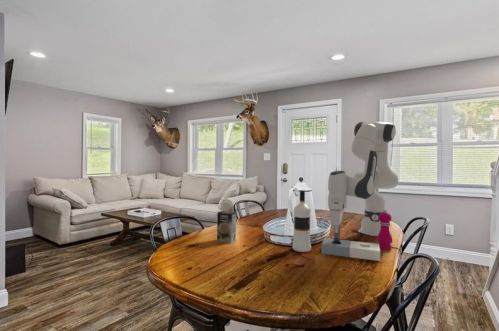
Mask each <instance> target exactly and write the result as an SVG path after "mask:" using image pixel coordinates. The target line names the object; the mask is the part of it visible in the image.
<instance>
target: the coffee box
mask: <svg viewBox="0 0 499 331" xmlns="http://www.w3.org/2000/svg"><path fill="white" fill-rule="evenodd" d="M216 214H217V219H216V220H217V223H216V224H217V225H216V229H217V230H216V231H217V233H216V234H217V235H216V238H217V239H216V241H217V242H219V243H226V244H228V243H229V244H232V243H234V242H235V241H237V212H235V211H225V210H221V211H218V212H217V213H216Z"/></svg>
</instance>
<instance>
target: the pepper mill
mask: <svg viewBox="0 0 499 331" xmlns="http://www.w3.org/2000/svg"><path fill="white" fill-rule="evenodd" d="M383 212H384V213H381V214H380V215H379V220H380V225H381V229H380V232H379V234H378V236H376V241H377V242H378V244H379V246H380V250H385V251H391V249H392V245H391V244H392V243H393V237H392V233H391V231H390V226H391V221H392V215H391V214H390V213H388V211H387V209H385V210H383ZM390 233H391V234H390Z"/></svg>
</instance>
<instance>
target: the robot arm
mask: <svg viewBox="0 0 499 331" xmlns="http://www.w3.org/2000/svg"><path fill="white" fill-rule="evenodd" d="M353 131H354V132H353V135H354V138H353V141H352V143H351V152H352V154H353V155H354V157H356V158H358V159H359V160H361V161H364V170H362V171H357V172H356V173H354V175H353V177H351V176H349V175H347V174H346V173H347V172H346V171H344V170H335V171H331V172H330V173H329V174H328V183H327V184H328V185H327V188H328V189H327V190H328V196H327V207H328V210H329V219H330V225H331V226H332V227H333V233H334V232H335V233H338V227H339V225H340V226H341V224H340V222H342V219H343V212H344V210H345V209H346V208H347V206H348V202H347V200H348V199H347V197H352V198H353V197H354V198H359V199H364V205H365V207H364V209H365V210H364V213H363V214H364V217H363V218H362V219H361V223H360V224H361V228H360V229H358V233H362V234H364V235H367V236H372V237H377V236H378V234H379V232H380V229H381V225H380V220H379V215H380V214H381V213H384V212H383V210H386V209H385V206H386V200H385V198H384V197H383V196H382V195H380V194H379V193H377V192H375V189H376V190H377V189H378V190H379V189H381V190H389V189H394V188H396V187H397V185H399V177H398V174H396V173H395V171H393V170H392V169H391V168H390V166H389V162H388V156H389V155H388V154H389V142H392V141H393V140H395V139H394V138H395V137H396V134H397V129H396V126H395V125H394V123H392V122H382V121H358V123H356V125H355V126H354V129H353ZM390 234H391V235H392V233H391V232H390Z"/></svg>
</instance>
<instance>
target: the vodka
mask: <svg viewBox="0 0 499 331" xmlns="http://www.w3.org/2000/svg"><path fill="white" fill-rule="evenodd" d="M305 192H306V191H305V190H299V204H296V205H295V206H294V208H293V217H294V218H293V243H292V249H293V250H294V251H295V252H299V253H308V252H310V251H311V250H312V245H311V207H310V206H309V205H308V204H306V200H305V198H306V193H305Z"/></svg>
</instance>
